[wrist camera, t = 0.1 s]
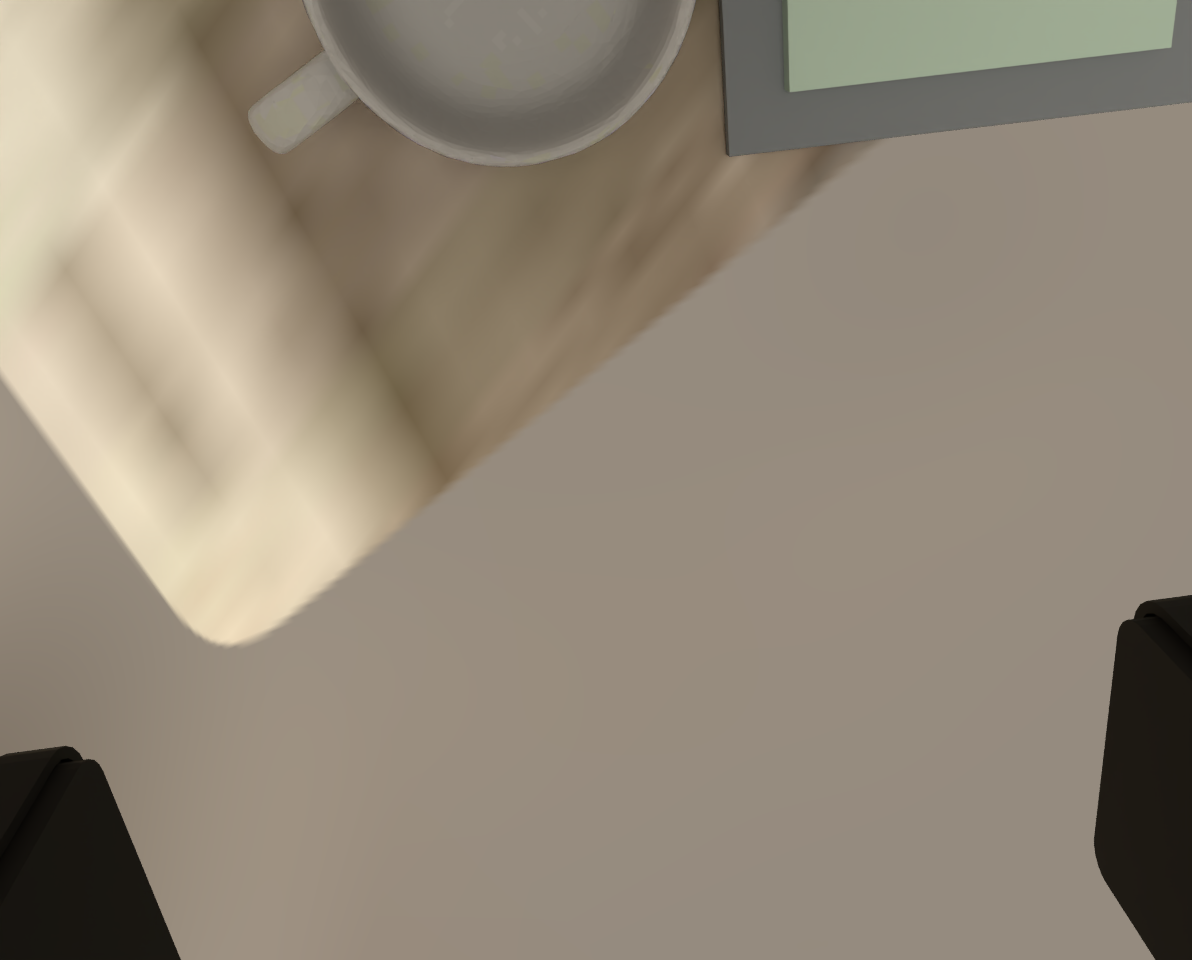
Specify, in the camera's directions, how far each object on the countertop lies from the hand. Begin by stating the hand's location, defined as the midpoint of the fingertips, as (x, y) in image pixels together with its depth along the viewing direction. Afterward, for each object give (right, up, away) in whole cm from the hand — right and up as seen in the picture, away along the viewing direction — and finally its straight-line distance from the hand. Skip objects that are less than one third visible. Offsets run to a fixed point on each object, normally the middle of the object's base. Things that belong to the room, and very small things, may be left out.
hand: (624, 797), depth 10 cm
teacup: (-5, +19, +25) cm, 32 cm away
